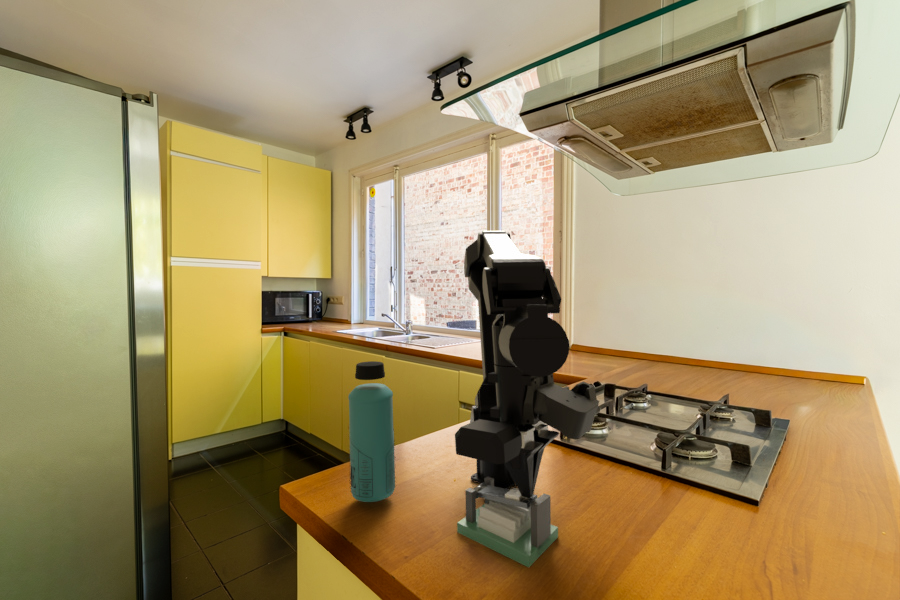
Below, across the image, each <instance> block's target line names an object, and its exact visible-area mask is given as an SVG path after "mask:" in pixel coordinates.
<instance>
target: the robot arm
mask: <svg viewBox="0 0 900 600" xmlns="http://www.w3.org/2000/svg"><path fill="white" fill-rule="evenodd" d="M464 253H465V254H464V261H463V266H464V267H463V268H464V269H463V272H464V278H467V281H468V290H469V291H470V292H471V294H472V295H473V297H474V298H475V299H476V300H477V303H478V305H477V306H478V317H479V318H478V320H479V333H480V349H481V365H482V367H481V368H482V378H483V381H482V383H481V385H480V386H479V388H478V390H477V393H476V395H475V398H474V405H472V406H471V412H470V419H469V423H467V424H465V425H462V426H461V427H459V429H458V430H457V431H456V432H455V433H454V442H455V443H454V444H455V446H454V447H455V454H456V455H457V456H463V457H465V458H470V459H473V460H474V459H475V460H476V473H473V474H472V475H470V480H471V481H473V482H476V483H478V484H482V483H483V482H484V478H486V477H491V478H494V486H495V487H500V488H505V489H510V490H511V489H512V488H513V487H514V486H516V487H517V489H518V490H519V491H520V493H521V495H522V496H523V497H526V498H530V497H532V496H533V494H534V493H535V489H536V485H537V479H538V476H539V471H540V466H541V462H542V458H543V455H544V450H545V448H547V446H548V445H549V444H551V442H552V441H554V439H556V438H557V437H558V436H559V434H560V432H561V434H562V436H564V437H565V438H567V439H571V440H574V441H575V440H580V439H581V438H582V437H583V436H584V435H585V434H586V433H589V432H591V430H592V427H593V423H594V420H595V416H596V415H598V414H599V413H600V412H601V407H600V405H599V404H600V400H598V399H597V393H596V388H595V385H592V384H590V383H588V382H586V381H581V382H578V383H577V384H576V385H574V386H573V387H572V388H571V389H570V387H569V386H560V385H559V384H555V380H554V373H556V372H558V371H559V370H560V369H561V368H562V367H563V366H564V365H565V363H566V362H567V360H568V357H569V355H570V346H571V345H570V340H569V339H568V336H567V332H566V331H565V329H564V328H563V326H562V325H561V324H560V323H559V322H558V321H556V320H554V319H553V318H551V317H549V314H551V315H552V314H560V311H561V302H562V297H561V294H560V292H559V289H558V287H557V284H556V281H555V279H554V276H553V275H552V273H551V270H550V269H551V268H550V267H548V266H546V261H545V260H544V259H543V258H542V257H540V256H538V255H535V254H530V253H529V254H527V253H522V252H520V250H519V248H518V247H517V246H516V245H515V243H514V242H513V240H512V238H511V232H509V231H506V230H482V231H481V232H479V231H478V233H477V238H476V240H475V241H473V242H472V243H471V244H469V246H466V248H465V251H464ZM549 427H551V428H552V429H555V431H554V430H549ZM556 430H557V431H556ZM534 495H535V494H534Z"/></svg>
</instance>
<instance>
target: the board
mask: <svg viewBox="0 0 900 600" xmlns="http://www.w3.org/2000/svg"><path fill="white" fill-rule="evenodd" d="M484 482H485V483H487V484H488V485H490V486H494V478H491V477H486V478H484ZM551 514H552V513H551V495H550V494H547V493H542V494H541V495H540V496H539V497H538V496H537V499H536V500H535V501H533V502H532V503H531V506H530V507H529V508H528V509H527V508H522V507H518V506H514V505H509V504H505V503H501V502H497V501H492V500H488V499H484V503H483V504H482V505H481V506H480V507H479V506H478V508H477V499H476V490H474V488H471V487H468V488H466V489H465V517H463V518H461V520H459V521H457V523H456V525H457V526H456V527H457V528H456V532H457V533H458V534H460V535H461V536H464V537H466V538H467V539H469V540H472V541H474V542H476V543H478V544H480V545H482V546H485V548H488V549H490V550H493V552H496V553H498V554H500V555H502V556H503V557H507V558H508V559H511V560H513V561H514V562H517V563H518V564H520V565H523V566H525V567H526V568H530V567H531V566H532V565H534V563H535V562H536V561H537V560H538V559H539V557H541V555H542V554H543V553H544V552H546V550H547V549H549V547H550V546H551V545H552V544H553V543H554V542H555V541H556V540H557V539H558V537H559V527H558V526H557V525H554V524H552V523H551V520H552V519H551V516H552V515H551Z"/></svg>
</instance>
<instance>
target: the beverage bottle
mask: <svg viewBox="0 0 900 600" xmlns="http://www.w3.org/2000/svg"><path fill="white" fill-rule="evenodd" d="M385 375H386V372H385V365H384V363H383V362H381V361H362V362H358V363H356V365H355V374H354V377H355V379H356V380H360V381H372V380H373V381H374V380H380V379H383V378H385V377H386V376H385ZM347 396H348V398H347V399H348V409H349V410H348V411H349V412H348V414H349V417H348V418H349V424H348V425H349V426H348V432H349V433H348V434H349V437H348V439H349V454H348V456H349V459H350V460H349V480H350V482H349V484H350V487H349V488H350V493H351V496H352V497H353V498H354V499H355V500H356V501H359V502H365V503H373V502H380V501H382V500H386V499H387V498H389V497H391V496H392V495H393V493H394V492H395V488H396V487H397V485H396V474H395V473H396V471H395V470H397V468H396V456H395V451H396V449H395V447H396V445H395V444H396V443H395V441H396V439H395V429H394V407H393V406H394V405H393V404H394V403H393V401H394V400H393V398H394V397H393V396H394V392H393V391H392V389H390V387H388V386H387V385H386V384H385V383H377V382H376V383H375V382H374V383H363V384H359V385H356V386H355V387H354V388H353V390H351V391H350V392H349V393H348V395H347Z"/></svg>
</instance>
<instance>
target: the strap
mask: <svg viewBox="0 0 900 600" xmlns="http://www.w3.org/2000/svg"><path fill="white" fill-rule="evenodd" d="M473 489H474V490H476V500H477V499H479V498H480V499H484V500H485V499H488V500H492V501H497V502H501V503H505V504H509V505H514V506H518V507H522V508H527V509H528V508H529V507H530V506H531V503H532V502H533V501H535V500H536V499H537V498H538V495H537V494H533V496H532V497H530V498H526V497H523V496H522V495H521V493H520V491H519V490H518V488H516V487H511V488H510V489H505V488H500V487H495V486H490V485H488V484H487V483H485V482H483V483H482V484H481V483H479V484H478V485H477V486H475V487H474V488H473Z"/></svg>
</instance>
